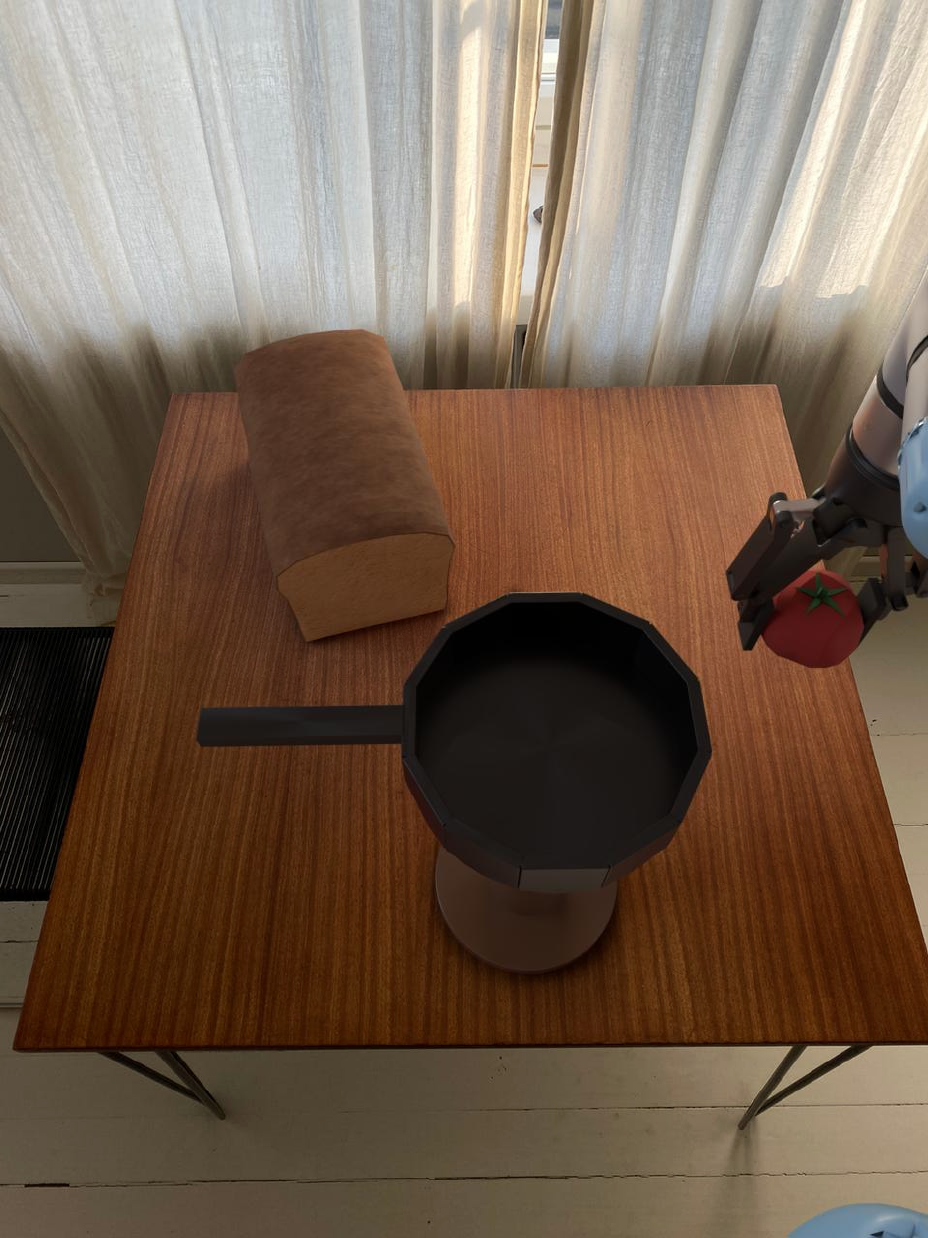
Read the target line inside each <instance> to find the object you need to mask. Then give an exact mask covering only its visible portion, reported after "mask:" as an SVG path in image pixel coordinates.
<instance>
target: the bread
mask: <svg viewBox="0 0 928 1238" xmlns="http://www.w3.org/2000/svg"><path fill="white" fill-rule="evenodd" d="M233 373H234V378H235V384H236V391H237V397H238V398H237V399H238V405H239V411H240V418H241V422H242V426H243V429H244V433H245V437H246V444H247V451H248V452H247V453H248V459H249V466H250V474H251V480H252V484H253V488H254V491H255V496H256V502H257V507H258V511H259V514H260V517H261V520H262V529H263V540H264V544H265V548H266V551H267V554H268V559H269V562H270V567H271V570H272V577H273V582H274V585H275V588H276V591H277V592H278V593H279V594H280V595H281V596H282V597H283V598H284V599H285V600H286V601H287V604H288V606H289V608H290V611H291V612H292V615H293V616H294V618H295V621H296V624H297V626H298V629H299V632H300V635H301V636H302V638H303V641H304V643H308V642H312V641H316V640H319V639H323V638H326V637H327V638H328V637H331V636H335V635H339V634H343V633H346V632H347V633H348V632H351V631H356V630H359V629H363V628H369V627H372V626H376V625H381V624H385V623H390V622H395V621H399V620H405V619H408V618H413V617H417V616H421V615H426V614H430V613H434V612H438V611H441V610H445V609H447V606H448V602H449V601H448V600H449V586H448V585H449V584H448V583H449V575H450V569H451V568H450V567H451V560H452V557H453V555H454V553H455V552H454V551H455V549H456V542H455V538H454V536H453V533H452V530H451V527H450V523H449V520H448V517H447V515H446V511H445V510H446V509H445V508H444V507H445V506H444V504H443V500H442V498H441V496H440V493H439V492H438V489H437V486H436V485H435V481H434V478H433V472H432V469H431V466H430V463H429V462H428V458H427V455H426V452H425V447H424V444H423V439H422V438H421V435H420V433H419V430H418V428H417V426H416V423H415V421H414V417H413V415H412V413H411V411H410V408H409V406H408V402H407V399H406V396H405V391H404V387H403V385H402V382H401V380H400V378H399V375H398V372H397V369H396V367H395V365H394V361H393V359H392V356H391V353H390V350H389V347H388V344H387V341H386V340H385V337H384V336H382V335H379V334H376V333H374V332H372V331H371V332H370V331H368V330H366V329H362V328H358V329H355V328H354V329H333V330H323V331H316V332H310V333H302V334H299V335H294V336H291V337H288V338H284V339H280V340H277V341H273V342H271V343H270V342H269V343H267V344H266V345H263V346H260V347H257V348H255V349H253V350H250V351H248V352H246V353H245V354H244V355H243V356H242V358H241V359H240V360H239V361H238V363H237V364H236V366H235V367H234V368H233Z"/></svg>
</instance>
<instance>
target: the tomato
mask: <svg viewBox="0 0 928 1238" xmlns="http://www.w3.org/2000/svg"><path fill="white" fill-rule="evenodd" d="M856 596H857V595H856V593H855V592H854V591H853V589H852V586H851V585H850V583H849V582H848V581H847V580H845V578H843V577H842V576H841V575H839V573H836V572H833V571H830V570H826V569H809V570H808V571H806V572H805V573H804V574H803V575H801V576H800V577H799V578H797V579H796V580H795V581H794V582H792V583H791V584H790V585H789V586H787V587H786V588H785V589H783V590H782V591H781V592H780V593H778V594H777V595H776V596H774V597H773V602H774V606H775V608H774V610H773V612H772V614H771V616H770V618H769V619H768V621H767V623H766V625H765V627H764V629H763V631H762V633H761V635H760V637H761V638H762V640H763V641H764V644H765V645H766V647H767V648H768V649H769V650H770V651H772V652H773V654H775V655H776V656H778V657H780V658H783V659H786V660H788V661H790V662H793V663H795V664H798V665H801V666H803V667H806V668H808V669H829V668H831V667H835V666H838V665H841V664H842V663H843V662H844V661H845V660H847V659H848V658H849V657H850V656H851V655H852V654H853V653H854V652H855V651H856V650H857V649H858V647H859V646H858V643H859V641H860V638H861V635H862V632H863V629H864V624H863V618H862V614H861V610H860V606H859V602H858V599H857V597H856ZM857 646H858V647H857Z"/></svg>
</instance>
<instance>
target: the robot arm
mask: <svg viewBox="0 0 928 1238" xmlns="http://www.w3.org/2000/svg"><path fill="white" fill-rule="evenodd" d="M801 525H802V527H801ZM800 527H801V529H800ZM907 539H908V541H909V542H910V543H911V545H912V546H913V548H914V551H913V554H912V556H911V558H910V560H909V564H908V566H907V568H906V556H907ZM855 547H856V548H857V547H864V548H873V549H874V548H878V558H879V572H880V573H879V574H880V579H881V581H880V580H879V578H878V577H867V579H866V580H865V582H864V584H863V585H862V586H861V588H860V590H858V593H857V594H856V595H855V596H856V597H857V599H858V602H859V606H860V610H861V614H862V618H863V624H864V629H863V632H862V635H861V638H860V641H859V643H858V646H857V648H858V647H859V646H860V645H861V643H862V642H863V641H864V640H865V638H866V636H867V635H868V634H869V632H870V631H871V629H872V628H873V627H874V625H875V624H876V622H877V621H883V620H884V619H886V618H887V617H888V615H889V614H890V612H891V611H893V612H896V613H898V612H902V611H905V610H907V609H908V608H909V601H908V599H907V597H908V596H912V595H915V597H916V598H917V599H927V598H928V268H927V270H926V272H925V273H924V276H923V278H922V280H921V282H920V284H919V286H918V288H917V290H916V292H915V294H914V296H913V298H912V300H911V303H910V305H909V306H908V309H907V310H906V312H905V315H904V317H903V319H902V321H901V322H900V324H899V327H898V329H897V331H896V333H895V335H894V337H893V339H892V341H891V344H890V345H889V347H888V350H887V351H886V353H885V355H884V358H883V359H882V362H881V364H880V366H879V367H878V370H877V372H876V374H875V376H874V378H873V380H872V382H871V384H870V386H869V388H868V390H867V392H866V394H865V396H864V398H863V400H862V401H861V404H860V405H859V408H858V410H857V412H856V414H855V416H854V418H853V420H852V422H851V424H850V425H849V426H848V428H847V430H846V432H845V434H844V436H843V438H842V440H841V442H840V444H839V446H838V447H837V450H836V452H835V454H834V456H833V458H832V460H831V462H830V466H829V470H828V473H827V476H826V480H825V481H824V483H823V484H822V485H821V486H820V487H819V488H817V489H816V490H814V492H813V493H812V494H811V496H810V497H808V498H801V499H793V500H789V498H788V495H787V494H786V493H785V492H783V491H778V492H774V493H772V494H771V495H770V496H769V497H768V501H767V508H766V513H765V515H764V516H763V518H762V519H761V520H760V522H759V524H758V525H757V526H756V528H755V529H754V530H753V532H752V533H751V535H750V536H749V537H748V538H747V540H746V542H745V543H744V544H743V546H742V547H741V549H740V550H739V552H737V555H736V556H735V557H734V559H733V560H732V561H731V563H730V565H729V566H728V567H727V569H726V570H725V573H724V574H725V578H726V582H727V587H728V591H729V595H730V599H731V600H732V601H733V602H737V604H736V609H737V613H738V618H739V619H738V620H737V623H736V625H737V626H736V627H737V630H738V635H739V639H740V644H741V647H742V651H743V652H752V651H753V650H754V648H755V646H756V644H757V642H758V640H759V639H760V637H761V633H762V631H763V629H764V627H765V625H766V623H767V621H768V619H769V618H770V616H771V614H772V612H773V610H774V608H775V606H774V602H773V597H774V596H776V595H777V594H778V593H780V592H781V591H782V590H783V589H785V588H786V587H787V586H789V585H790V584H791V583H792V582H794V581H795V580H796V579H797V578H799V577H800V576H801V575H803V574H804V573H805V572H806V571H808V570H811V569H812V568H813V567H814V566H815V565H817V564H818V563H819V562H821V561H822V560H823V561H831V560H832V559H833V558H835V557H836V556H837V555H838V554H839V553H841V552H842V551H844V550H845V549H850V548H855ZM785 1238H928V1213H924V1212H921V1211H918V1210H914V1209H911V1208H909V1207H904V1206H900V1205H894V1204H887V1203H879V1202H865V1203H864V1202H862V1203H861V1202H860V1203H852V1204H851V1203H850V1204H844V1205H841V1206H836V1207H834V1208H830V1209H828V1210H825V1211H823V1212H821V1213H819V1214H817V1215H815V1216H813V1217H811V1218H809V1219H807V1220H806V1221H804V1222H803V1223H802V1224H800V1225H798V1227H796V1228H794V1229H793V1230H792V1231H791V1232H790V1233H789V1234H788V1235H787V1236H786V1237H785Z"/></svg>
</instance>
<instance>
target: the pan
mask: <svg viewBox="0 0 928 1238" xmlns="http://www.w3.org/2000/svg"><path fill="white" fill-rule="evenodd" d="M195 740H196V742H197V743H198V744H199V746H200V748H221V747H222V748H225V747H226V748H228V747H229V748H230V747H288V746H289V747H291V746H292V747H293V746H298V747H299V746H352V745H354V746H357V745H359V746H360V745H401V749H400V758H401V764H402V770H403V775H404V780H405V784H406V787H407V789H408V790H409V792H410V794H411V796H412V797H413V799H414V800H415V802H416V805H417V808H418V809H419V811H420V813H421V816H422V817H423V819H424V821H425V823H426V824H427V826H428V827H429V829H430V830H431V832H432V833H433V835H434V836H435V837H436V839H437V840H438V841H439V843H440V846H439V850H438V853H437V858H436V862H435V873H434V879H435V880H434V882H435V892H436V897H437V903H438V906H439V909H440V912H441V915H442V918H443V919H444V921H445V924H446V926H447V928H448V929H449V931H450V932H451V934H452V935H453V937H454V938H455V939H456V940H457V942H459V944H460V945H461V947H463V949H465V950H466V951H467V952H468V953H470V954H471V956H473V957H475V958H476V959H477V960H479V961H481V962H482V963H484V964H486V965H488V966H490V967H492V968H495V969H498V970H500V971H503V972H507V973H512V974H516V975H517V974H518V975H540V974H546V973H549V972H554V971H557V970H559V969H562V968H564V967H567V966H568V965H571V964H573V963H574V962H577V960H579V959H580V958H581V957H583V956H584V955H585V954H587V953H588V951H590V949H591V948H592V947H593V946H594V945H595V944H596V943H597V942H598V940H599V939H600V937H601V936H602V934H603V933H604V931H605V929H606V927H607V925H608V924H609V922H610V920H611V917H612V914H613V911H614V908H615V904H616V900H617V893H618V881H619V880H620V879H623V878H624V877H626V876H628V875H630V874H632V873H633V872H635V871H636V870H638V869H639V868H640V867H642V866H643V865H644V864H645V863H647V862H649V861H650V860H651V858H653V857H655V856H656V855H658V854H659V853H661V852H663V850H665V849H667V848H668V847H669V845H670V844H671V842H672V841H673V839H674V837H675V835H676V834H677V832H678V830H679V829H680V828H681V825H682V824H683V822H684V820H685V817H686V816H687V814H688V813H687V812H688V811H689V809H690V807H691V804H692V801H693V799H694V798H695V794H696V792H697V790H698V788H699V786H700V783H701V781H702V779H703V776H704V774H705V772H706V770H707V768H708V765H709V762H710V760H711V758H712V756H713V754H712V753H713V745H712V741H711V735H710V730H709V725H708V719H707V713H706V709H705V701H704V697H703V691H702V685H701V681H700V680H699V677H698V676H697V675H696V674H695V672H694V671H693V670H692V669H691V668H690V666H689V665H687V663H686V662H685V661H684V660H683V658H682V657H681V656H680V654H678V653H677V651H676V650H675V649H674V647H672V645H671V644H670V643H669V642H668V641H667V639H665V637H664V636H663V635H662V634H661V632H660V631H659V630H658V628H657V627H656V626H655V625H654V624H653V623H652V622H650V621H649V620H647V619H645V618H642V617H640V616H638V615H636V614H633V613H631V612H629V611H628V610H624V609H622V608H620V607H618V606H615V605H613V604H611V603H608V602H606V601H604V600H601V599H599V598H597V597H595V596H593V595H590V594H588V593H586V592H581V591H540V592H539V591H535V592H534V591H533V592H508V594H507V593H505V594H502V595H500V596H499V597H496V598H495V599H492V600H490V601H489V602H487V603H485V604H483V605H481V606H479V607H477V608H475V609H473V610H471V611H469V612H466V613H465V614H463V615H461V616H459V617H458V618H455V619H453V620H451V621H449V622H446V623H445V624H444V626H442V627H440V629H439V631H437V634H436V635H435V637H434V638H433V640H432V641H431V642H430V644H429V645H428V647H427V649H426V650H425V651H424V652H423V655H422V656H421V658H420V659H419V660H418V662H417V663H416V665H415V666H414V668H413V669H412V671H411V672H410V674H409V675H408V676H407V678H406V680H405V681H404V683H403V685H402V704H356V705H355V704H354V705H353V704H352V705H350V704H349V705H348V704H347V705H290V706H289V705H288V706H287V705H285V706H279V705H278V706H226V707H225V706H224V707H223V706H219V707H200V712H199V717H198V723H197V728H196V734H195Z"/></svg>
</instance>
